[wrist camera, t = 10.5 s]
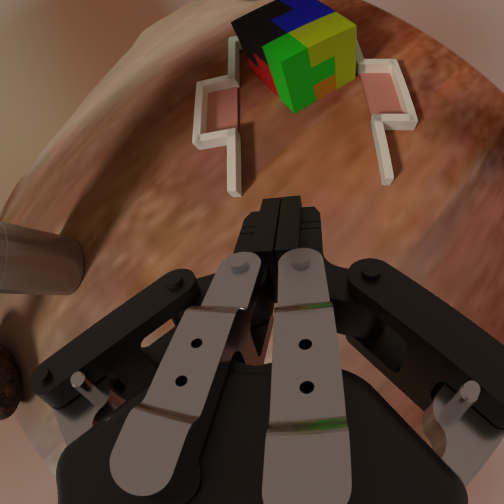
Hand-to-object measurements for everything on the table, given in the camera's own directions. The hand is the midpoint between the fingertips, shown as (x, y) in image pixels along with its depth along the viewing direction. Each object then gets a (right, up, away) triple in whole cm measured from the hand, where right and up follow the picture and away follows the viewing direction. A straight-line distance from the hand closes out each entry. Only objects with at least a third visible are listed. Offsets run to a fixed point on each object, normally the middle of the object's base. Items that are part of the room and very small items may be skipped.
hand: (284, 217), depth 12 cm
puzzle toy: (+5, +22, +22) cm, 32 cm away
